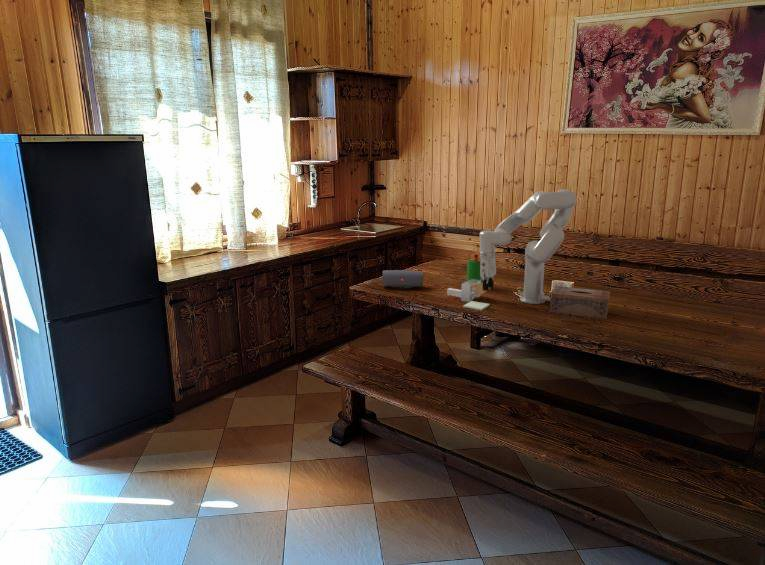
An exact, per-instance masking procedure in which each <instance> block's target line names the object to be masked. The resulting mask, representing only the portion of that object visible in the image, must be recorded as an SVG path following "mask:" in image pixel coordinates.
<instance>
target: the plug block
mask: <svg viewBox="0 0 765 565" xmlns="http://www.w3.org/2000/svg"><path fill="white" fill-rule="evenodd" d="M474 288H475V289H476V291H477V292H478V294H479V295H480V296H481V295H483V294H484V293H487V291H484V290H483V283H481V284H479V285H477V286H476V287H474ZM489 290H491V288H490V287H489Z"/></svg>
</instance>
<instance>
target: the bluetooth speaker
mask: <svg viewBox="0 0 765 565" xmlns="http://www.w3.org/2000/svg"><path fill="white" fill-rule="evenodd" d="M381 276H382V278H381V284H382V286H389V287H392V288H394V287H404V288H403V289H412V288H415V287H423V285H424V271H421V270H420V271H419V270H408V269H406V270H405V269H401V270H400V269H393V270H392V269H390V270H387V269H386V270H382V275H381Z"/></svg>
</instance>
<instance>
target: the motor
mask: <svg viewBox="0 0 765 565" xmlns="http://www.w3.org/2000/svg"><path fill="white" fill-rule="evenodd" d="M480 264H481V260H479V253H477V252H476V253H474V260H471V258H468V259H467V267H466V268H467V269H466V270H467V271H466V282H467V281H469V280H471V279H477V280H481V275H480ZM481 283H482V280H481Z"/></svg>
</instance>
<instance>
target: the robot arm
mask: <svg viewBox="0 0 765 565" xmlns="http://www.w3.org/2000/svg"><path fill="white" fill-rule="evenodd" d="M577 202H578V196H577V193H575V192H574V191H572V190H569V189H566V188H559V189H558V190H556V191H551V192H548V191H544V190H538V191H536V192H534V193H533V194H531V196H530V197H529V198H528V199H527V200H526V201H525V202H524V203H523V204H521V206H519V208H518V209H516V210H515V211H514V212H513V213H511V214H510V215H509V216H507V217H506V218H505V219H504V220H502V221H501V223H499V224H498V225H497V226H496V227H495V228H494V230H489V229H486V230H481V231H480V232H479V258H480V261H481V264H480V275H481V280H482V283H483V290H484V291H486V292H488V291H489V290H490V289H493V288H494V276H495V275H496V274H497V266H496V264H497V263H496V246H497V245H498V246H506V245H508V244H510V242H511V241H512V235H511V234H512V232H513V231H514V230H516V229H517V228H519V227H521V226H524V225H526V224H528V223H530V222H531V221H532V220H533V219H534V218H535V217H536V216H537V215H538V214H539V213H540V212H541V211H542V210H543V211H552V210H554V211H553V213H552V215H551V216H550V218H549V219H548V220H547V221H546V222H545V224H544V225H543V226H542V227H541V229H540V231H539V236H540V240H532V241H529V242H528V243H527V244H526V246H525V250H524V258H525V259H524V262H525V263H524V279H523V280H524V282H523V291H522V292H523V293H522V296H520V297H519V300H520V302H522V303H525V304H530V305H540V304H541V305H542V304H544V303H546V301H548V302H551V296H549V295H545V292H543V289H544V275H545V263H546V262H548V261H549V260H550V259H551V258H552V256H553V255H554V254H555V253H556V251H557V250H558V248H559V247H560V246H561V245H562V243H563V241H564V240H565V239H564V238H565V232H564V229H565V227H566V226H567V225H568V223H569V221H570V220H571V218H572V214H573V207H574V206H576V205H577ZM489 287H490V289H489Z"/></svg>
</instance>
